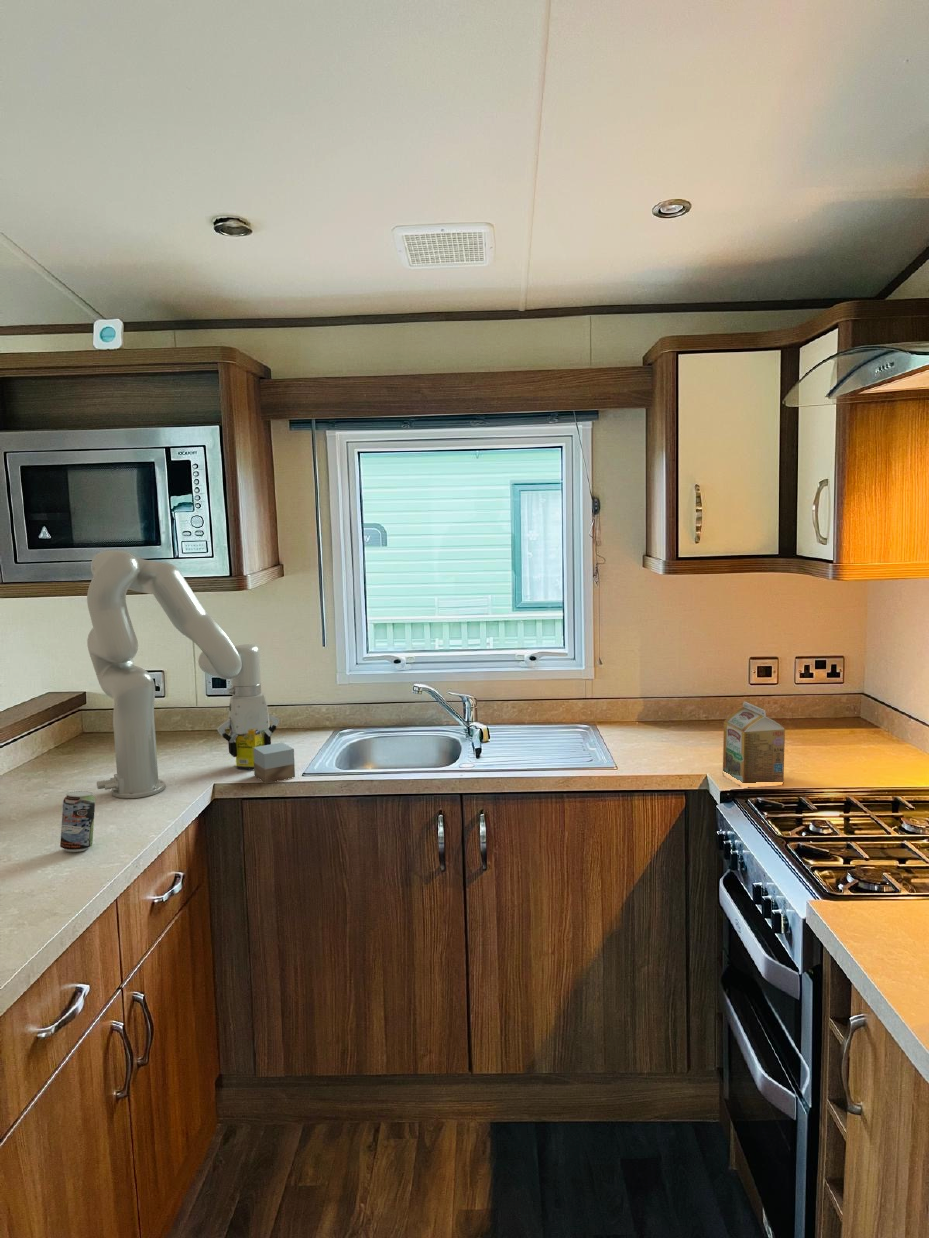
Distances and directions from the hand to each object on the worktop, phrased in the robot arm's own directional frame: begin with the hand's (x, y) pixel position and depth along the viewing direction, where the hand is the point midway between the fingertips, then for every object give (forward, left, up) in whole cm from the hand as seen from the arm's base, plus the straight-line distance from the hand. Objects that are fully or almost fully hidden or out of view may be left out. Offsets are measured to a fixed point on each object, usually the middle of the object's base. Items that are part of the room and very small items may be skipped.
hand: (250, 752), depth 231 cm
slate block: (+2, -13, 0) cm, 13 cm away
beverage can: (-49, -35, -4) cm, 60 cm away
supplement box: (0, 0, -4) cm, 4 cm away
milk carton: (+97, -89, -4) cm, 132 cm away
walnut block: (+2, -13, -4) cm, 13 cm away
